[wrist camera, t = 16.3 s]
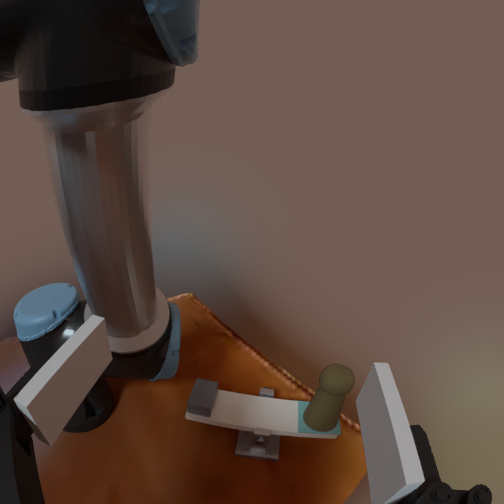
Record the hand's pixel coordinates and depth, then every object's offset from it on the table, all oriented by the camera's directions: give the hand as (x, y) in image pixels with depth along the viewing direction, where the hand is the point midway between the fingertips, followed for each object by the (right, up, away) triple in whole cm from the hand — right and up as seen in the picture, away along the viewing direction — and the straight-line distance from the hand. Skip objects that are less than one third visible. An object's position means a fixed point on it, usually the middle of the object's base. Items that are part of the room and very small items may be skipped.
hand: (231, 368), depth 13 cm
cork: (+12, -22, +29) cm, 38 cm away
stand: (+2, -26, +32) cm, 41 cm away
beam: (+3, -21, +30) cm, 37 cm away
